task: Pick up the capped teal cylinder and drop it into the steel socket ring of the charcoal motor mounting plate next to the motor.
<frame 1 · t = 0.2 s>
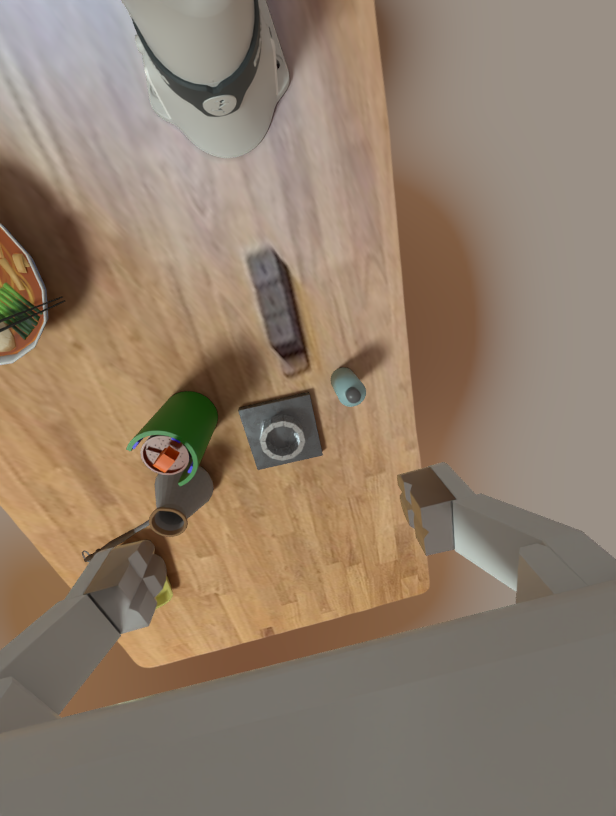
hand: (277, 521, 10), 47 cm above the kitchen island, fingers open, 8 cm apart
coffee pot: (167, 485, 64), on the kitchen island
motor mount: (282, 430, 61), on the kitchen island
capped teal cylinder: (342, 379, 58), on the kitchen island
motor: (192, 412, 58), on the kitchen island
plastic component: (145, 565, 73), on the kitchen island
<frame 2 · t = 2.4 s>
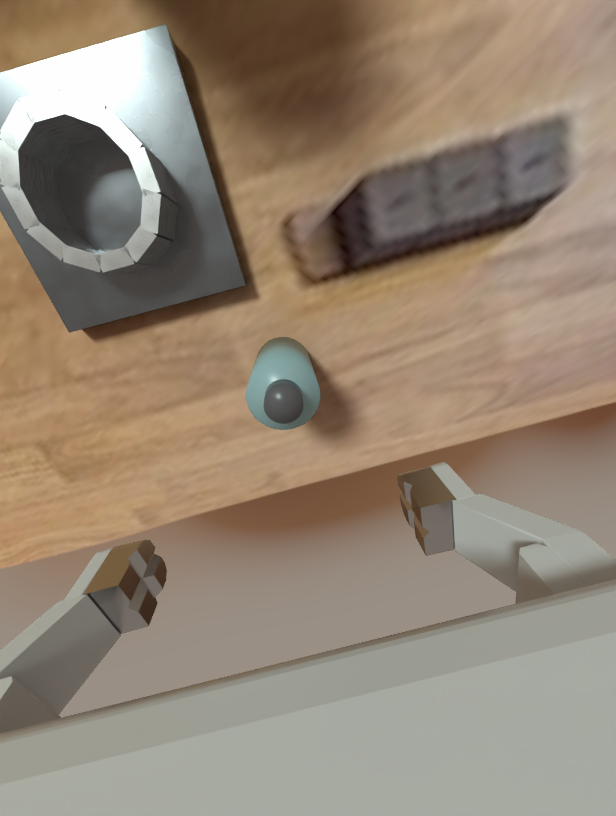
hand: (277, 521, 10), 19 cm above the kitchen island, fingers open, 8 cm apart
motor mount: (121, 206, 21), on the kitchen island
capped teal cylinder: (283, 364, 27), on the kitchen island
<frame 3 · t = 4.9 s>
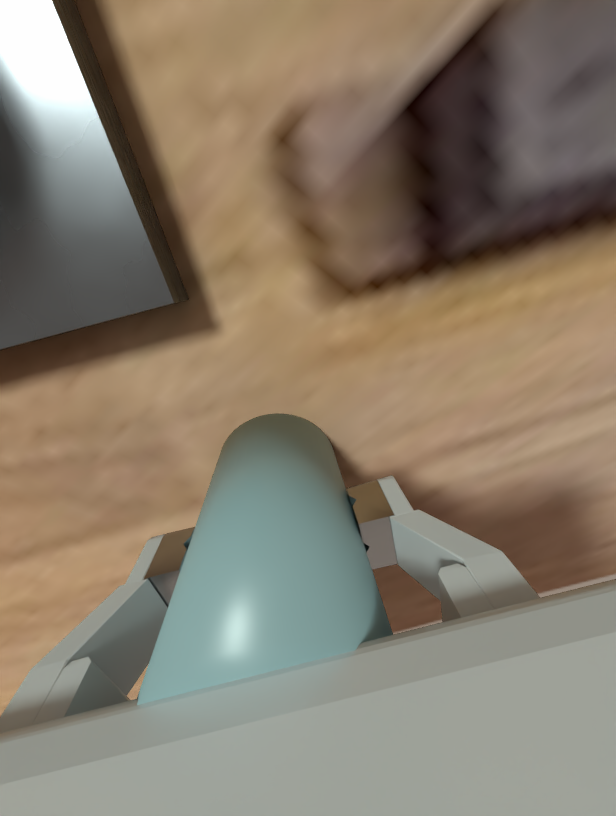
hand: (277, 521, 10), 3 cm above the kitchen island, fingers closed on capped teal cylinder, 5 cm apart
capped teal cylinder: (278, 466, 12), on the kitchen island, touching gripper
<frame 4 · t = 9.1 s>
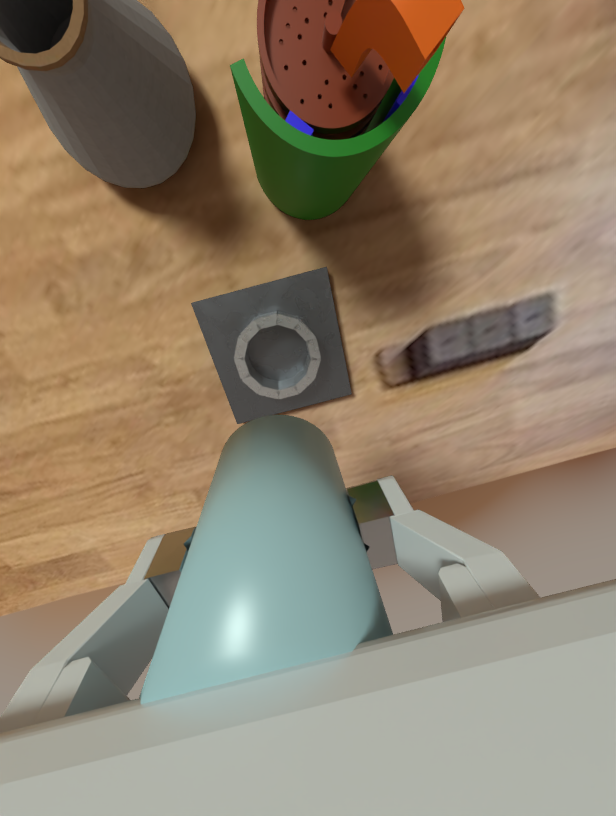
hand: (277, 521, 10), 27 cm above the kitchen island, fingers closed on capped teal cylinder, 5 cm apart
coffee pot: (97, 40, 23), on the kitchen island
motor mount: (278, 349, 34), on the kitchen island
capped teal cylinder: (278, 467, 12), point 23 cm above the kitchen island, touching gripper
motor: (313, 160, 28), on the kitchen island
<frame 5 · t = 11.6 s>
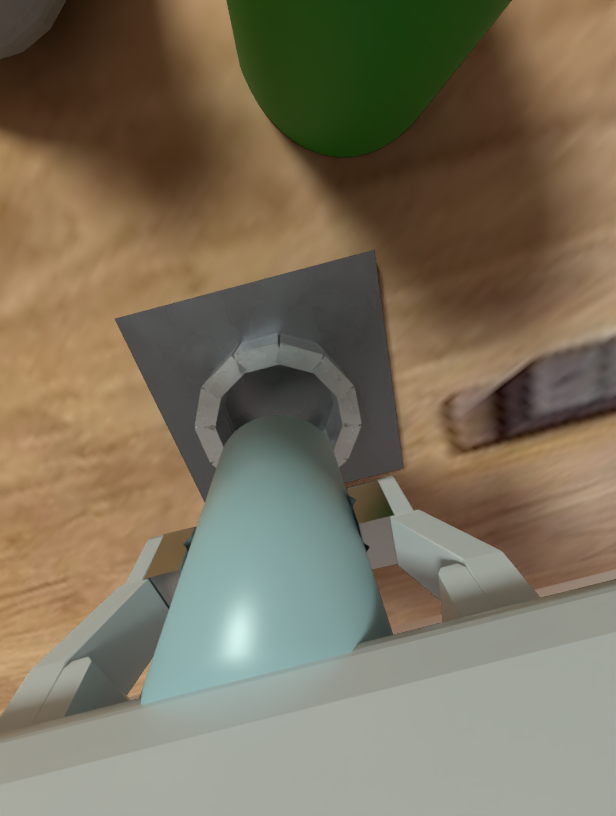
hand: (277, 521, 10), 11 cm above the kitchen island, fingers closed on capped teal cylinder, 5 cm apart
motor mount: (280, 395, 20), on the kitchen island
capped teal cylinder: (278, 467, 12), point 8 cm above the kitchen island, touching gripper
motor: (355, 27, 13), on the kitchen island
when the fingers open (6 cm above the kitchen island, at t = 13.6 s): capped teal cylinder drops 1 cm, resting on motor mount.
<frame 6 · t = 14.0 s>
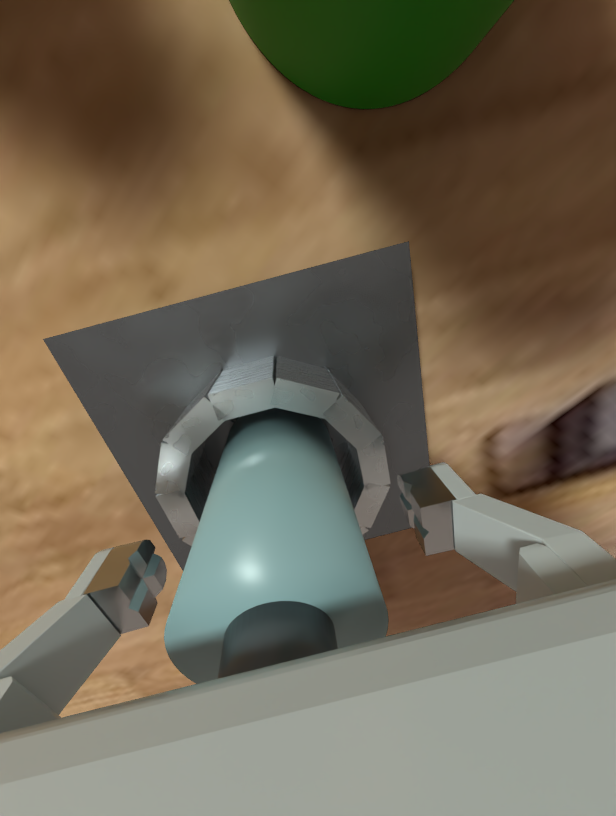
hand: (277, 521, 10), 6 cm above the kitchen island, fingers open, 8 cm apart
motor mount: (277, 433, 15), on the kitchen island
capped teal cylinder: (279, 449, 14), point 2 cm above the kitchen island, touching motor mount
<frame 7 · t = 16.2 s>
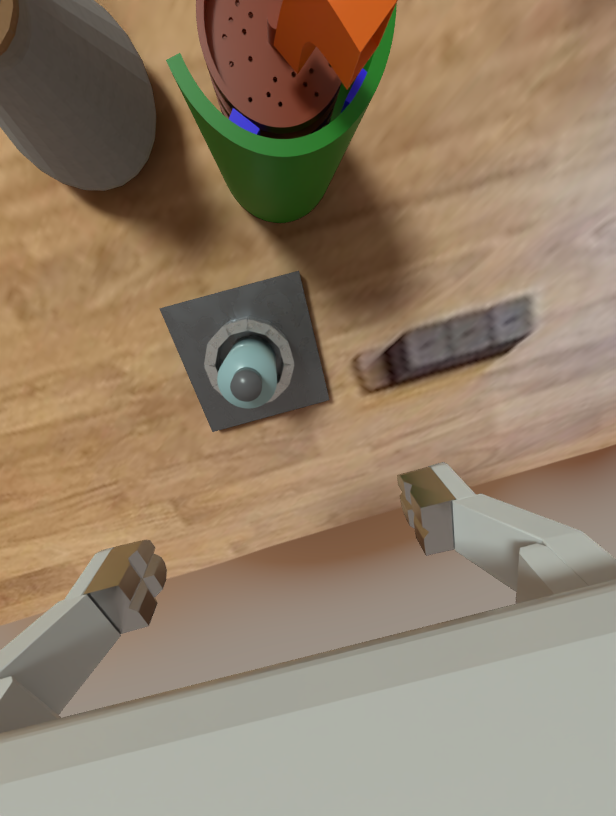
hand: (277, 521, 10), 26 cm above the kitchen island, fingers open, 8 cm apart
coffee pot: (52, 38, 23), on the kitchen island
motor mount: (252, 355, 33), on the kitchen island
capped teal cylinder: (252, 358, 32), point 2 cm above the kitchen island, touching motor mount
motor: (282, 162, 27), on the kitchen island
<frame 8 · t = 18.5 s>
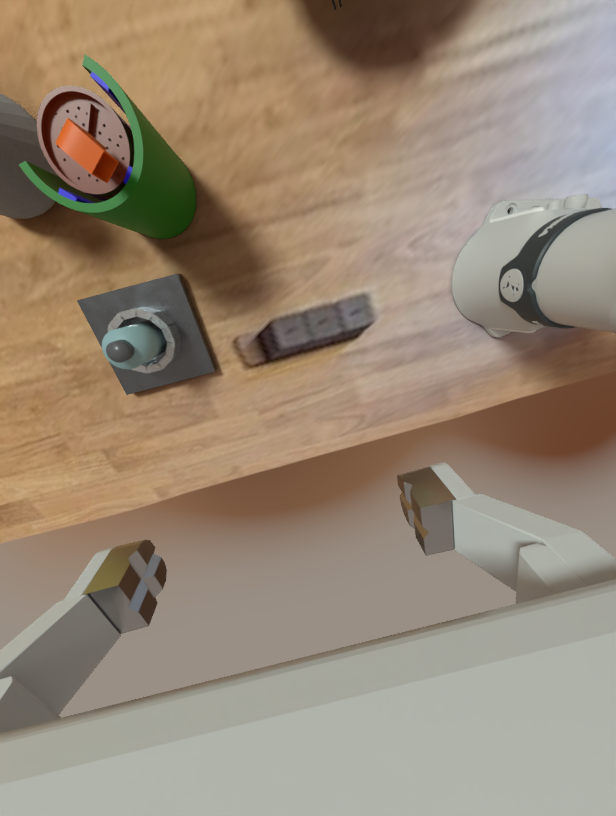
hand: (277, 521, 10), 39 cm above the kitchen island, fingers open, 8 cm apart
motor mount: (154, 336, 44), on the kitchen island
capped teal cylinder: (150, 338, 43), point 2 cm above the kitchen island, touching motor mount
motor: (160, 196, 38), on the kitchen island
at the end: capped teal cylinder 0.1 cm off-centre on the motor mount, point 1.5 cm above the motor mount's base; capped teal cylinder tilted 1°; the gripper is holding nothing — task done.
